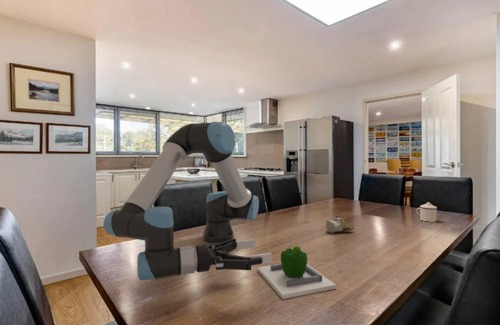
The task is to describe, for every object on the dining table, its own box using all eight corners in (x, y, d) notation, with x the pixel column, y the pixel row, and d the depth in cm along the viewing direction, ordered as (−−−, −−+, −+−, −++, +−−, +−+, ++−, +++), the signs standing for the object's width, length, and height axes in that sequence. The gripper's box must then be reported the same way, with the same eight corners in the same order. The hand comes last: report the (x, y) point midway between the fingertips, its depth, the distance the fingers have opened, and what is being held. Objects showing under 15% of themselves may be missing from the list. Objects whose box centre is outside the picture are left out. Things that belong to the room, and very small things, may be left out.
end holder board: (257, 270, 93) (257, 263, 93) (302, 263, 99) (302, 256, 99) (282, 299, 74) (282, 289, 74) (335, 288, 80) (335, 279, 80)
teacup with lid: (440, 221, 163) (440, 203, 163) (431, 223, 160) (431, 204, 160) (421, 217, 174) (421, 200, 174) (412, 219, 171) (412, 201, 171)
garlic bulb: (320, 214, 144) (340, 213, 150) (319, 230, 144) (339, 228, 150) (334, 218, 134) (355, 217, 141) (333, 235, 134) (354, 233, 141)
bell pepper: (276, 272, 89) (276, 242, 89) (297, 268, 92) (297, 240, 92) (288, 282, 81) (288, 250, 81) (311, 278, 84) (311, 247, 84)
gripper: (190, 256, 88) (249, 248, 95) (202, 292, 65) (279, 278, 72) (189, 234, 88) (249, 228, 95) (201, 262, 64) (279, 251, 72)
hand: (262, 249), depth 83 cm, fingers open, 13 cm apart
